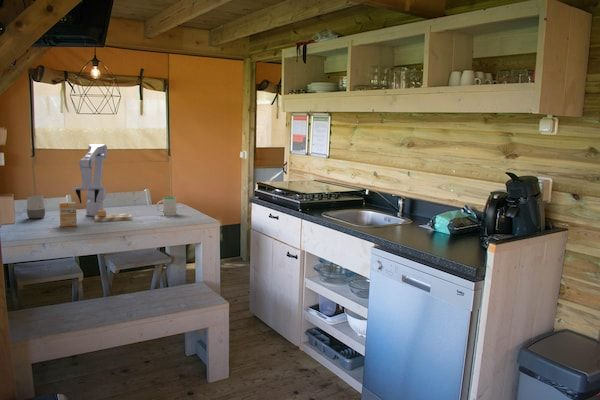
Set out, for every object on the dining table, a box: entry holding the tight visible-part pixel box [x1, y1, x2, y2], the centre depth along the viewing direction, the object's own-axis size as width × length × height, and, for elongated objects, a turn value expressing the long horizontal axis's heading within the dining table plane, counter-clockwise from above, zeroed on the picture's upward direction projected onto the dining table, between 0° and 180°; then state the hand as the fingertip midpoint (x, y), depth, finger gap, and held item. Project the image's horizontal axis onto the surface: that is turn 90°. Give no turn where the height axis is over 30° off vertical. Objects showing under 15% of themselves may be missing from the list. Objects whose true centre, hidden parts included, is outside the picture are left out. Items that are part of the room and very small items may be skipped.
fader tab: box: [98, 209, 107, 216], centre depth 284 cm, size 4×4×3 cm
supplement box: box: [58, 201, 78, 227], centre depth 266 cm, size 8×5×13 cm, turn 118°
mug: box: [156, 196, 178, 216], centre depth 304 cm, size 12×8×10 cm
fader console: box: [94, 213, 133, 223], centre depth 287 cm, size 20×10×2 cm, turn 113°
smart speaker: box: [26, 194, 46, 220], centre depth 284 cm, size 10×9×14 cm
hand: (87, 202), depth 280 cm, fingers open, 7 cm apart
